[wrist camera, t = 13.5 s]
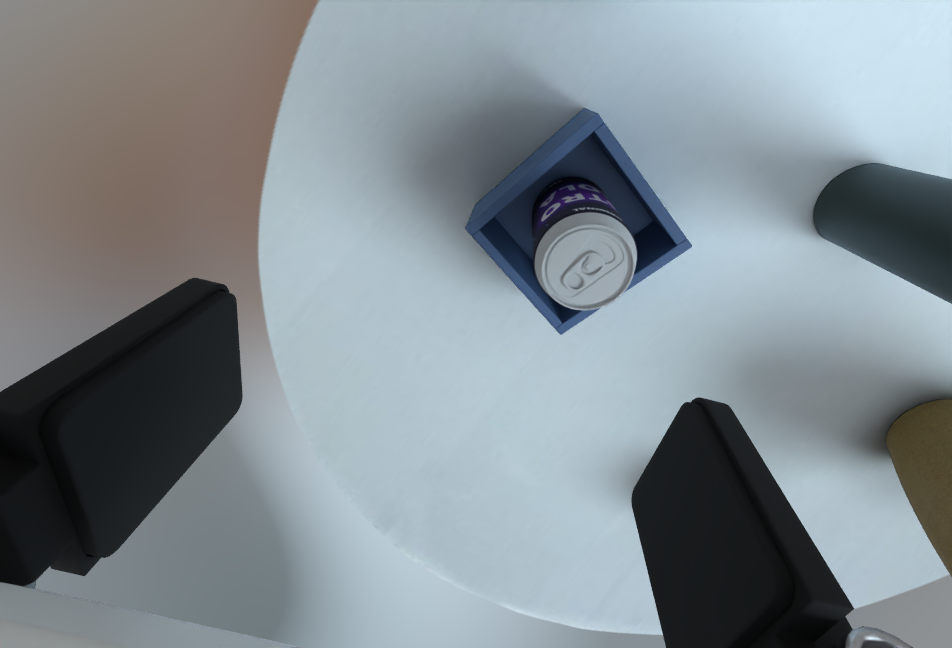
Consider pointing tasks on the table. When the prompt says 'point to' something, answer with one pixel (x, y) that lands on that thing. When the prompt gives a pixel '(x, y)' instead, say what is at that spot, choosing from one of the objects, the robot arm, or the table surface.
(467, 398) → the table surface
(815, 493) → the table surface
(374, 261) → the table surface
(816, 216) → the wine bottle
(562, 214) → the beverage can
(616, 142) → the blue open box
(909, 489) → the plant pot
